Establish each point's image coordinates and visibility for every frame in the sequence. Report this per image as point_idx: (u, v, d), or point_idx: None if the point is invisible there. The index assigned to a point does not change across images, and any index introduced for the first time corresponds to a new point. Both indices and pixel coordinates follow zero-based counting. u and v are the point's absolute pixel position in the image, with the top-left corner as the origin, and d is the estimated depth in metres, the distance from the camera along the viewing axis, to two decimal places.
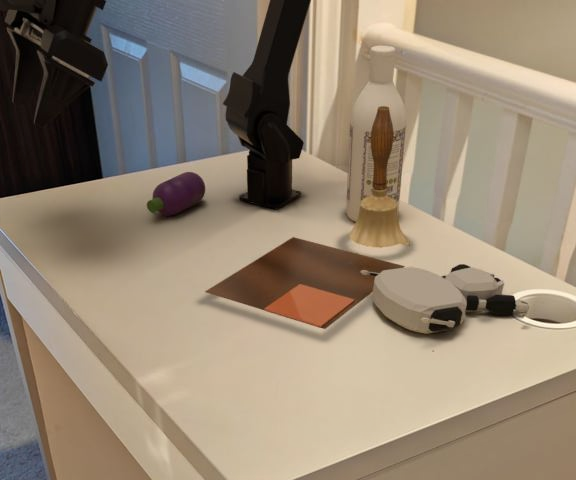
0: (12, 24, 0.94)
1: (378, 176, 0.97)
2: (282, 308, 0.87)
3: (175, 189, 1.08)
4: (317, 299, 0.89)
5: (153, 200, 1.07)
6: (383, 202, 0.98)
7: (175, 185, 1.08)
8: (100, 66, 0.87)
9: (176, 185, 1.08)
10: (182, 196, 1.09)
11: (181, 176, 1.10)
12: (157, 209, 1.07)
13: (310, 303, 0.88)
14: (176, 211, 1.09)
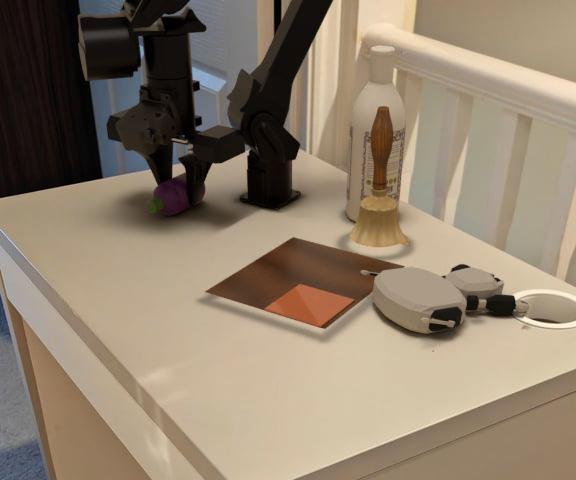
0: None
1: (378, 176, 0.97)
2: (282, 308, 0.87)
3: (176, 189, 1.08)
4: (317, 299, 0.89)
5: (153, 200, 1.07)
6: (383, 202, 0.98)
7: (175, 185, 1.08)
8: (243, 142, 1.04)
9: (176, 185, 1.08)
10: (182, 196, 1.09)
11: (181, 176, 1.10)
12: (157, 209, 1.07)
13: (310, 303, 0.88)
14: (176, 211, 1.09)
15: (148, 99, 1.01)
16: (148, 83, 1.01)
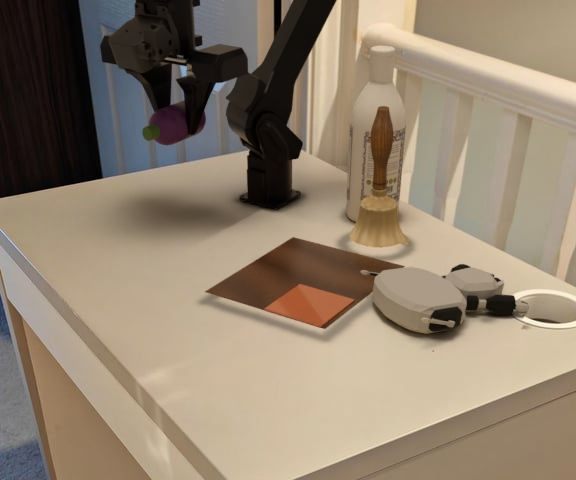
0: None
1: (378, 176, 0.97)
2: (282, 308, 0.87)
3: (173, 115, 1.01)
4: (317, 299, 0.89)
5: (149, 126, 1.00)
6: (383, 202, 0.98)
7: (173, 111, 1.01)
8: (246, 61, 0.96)
9: (174, 111, 1.01)
10: (180, 124, 1.01)
11: (180, 103, 1.03)
12: (153, 136, 1.00)
13: (310, 303, 0.88)
14: (173, 140, 1.02)
15: (144, 13, 0.94)
16: None
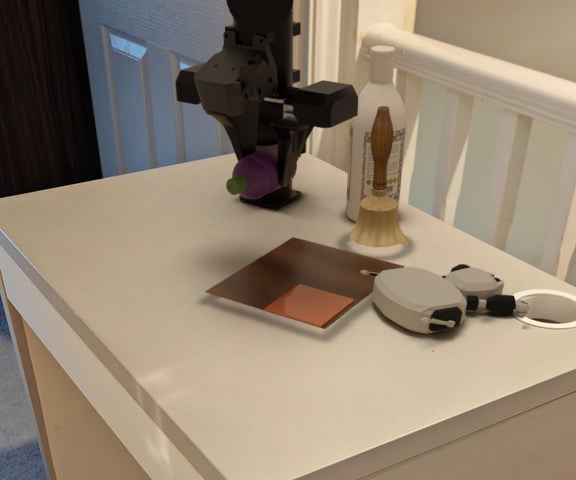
0: (199, 102, 0.84)
1: (378, 176, 0.97)
2: (282, 308, 0.87)
3: (263, 164, 0.84)
4: (317, 299, 0.89)
5: (235, 178, 0.83)
6: (383, 202, 0.98)
7: (262, 159, 0.84)
8: (356, 101, 0.80)
9: (264, 160, 0.84)
10: (271, 174, 0.85)
11: (269, 149, 0.86)
12: (240, 190, 0.83)
13: (310, 303, 0.88)
14: (262, 193, 0.85)
15: (235, 44, 0.78)
16: (236, 23, 0.77)
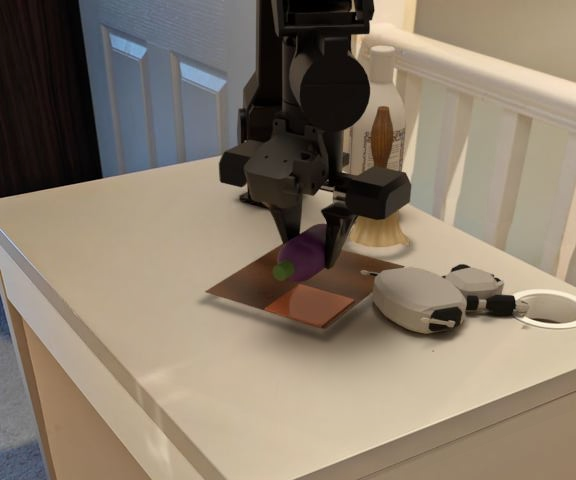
0: (244, 185, 0.81)
1: None
2: (282, 308, 0.87)
3: (310, 248, 0.81)
4: (317, 299, 0.89)
5: (282, 264, 0.80)
6: None
7: (309, 243, 0.82)
8: (409, 189, 0.77)
9: (311, 243, 0.82)
10: (318, 258, 0.82)
11: (314, 230, 0.83)
12: (287, 276, 0.81)
13: (310, 303, 0.88)
14: (309, 277, 0.83)
15: (285, 132, 0.75)
16: (287, 111, 0.74)
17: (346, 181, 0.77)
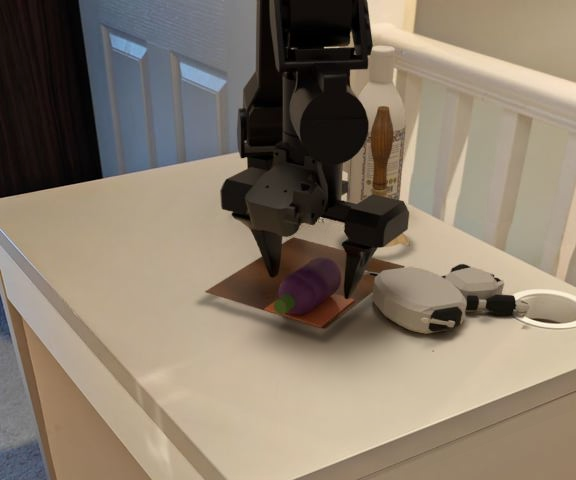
0: (245, 212, 0.83)
1: (378, 176, 0.97)
2: None
3: (311, 284, 0.84)
4: None
5: (283, 299, 0.83)
6: None
7: (309, 278, 0.84)
8: (407, 217, 0.79)
9: (311, 278, 0.84)
10: (318, 292, 0.84)
11: (315, 265, 0.86)
12: (287, 310, 0.83)
13: None
14: (308, 310, 0.85)
15: (286, 162, 0.77)
16: (287, 142, 0.76)
17: (345, 209, 0.79)
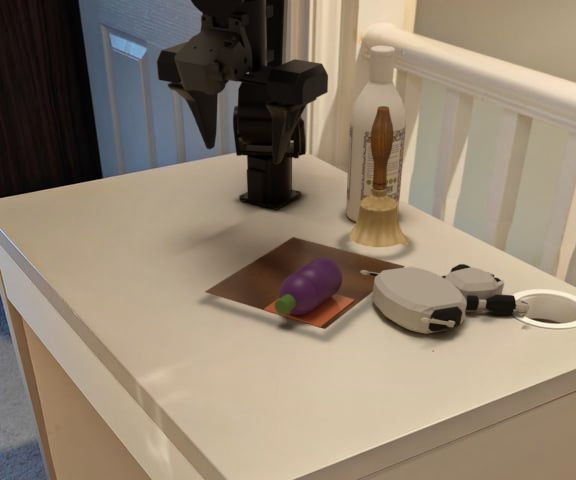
0: (179, 81, 0.89)
1: (378, 176, 0.97)
2: None
3: (312, 285, 0.84)
4: None
5: (285, 299, 0.83)
6: (383, 202, 0.98)
7: (311, 279, 0.84)
8: (326, 79, 0.86)
9: (313, 280, 0.84)
10: (319, 294, 0.84)
11: (317, 265, 0.86)
12: (288, 311, 0.83)
13: None
14: (309, 311, 0.85)
15: (212, 27, 0.83)
16: None
17: (269, 73, 0.86)
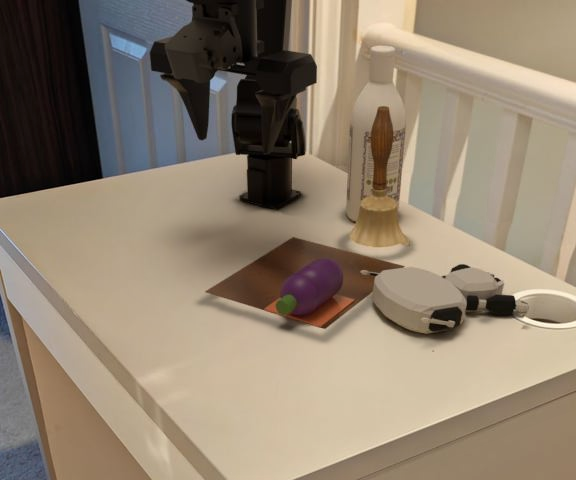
0: (171, 71, 0.91)
1: (378, 176, 0.97)
2: None
3: (314, 286, 0.84)
4: None
5: (286, 300, 0.83)
6: (383, 202, 0.98)
7: (313, 280, 0.84)
8: (315, 69, 0.87)
9: (315, 281, 0.84)
10: (320, 295, 0.84)
11: (319, 266, 0.85)
12: (289, 311, 0.83)
13: None
14: (309, 312, 0.85)
15: (203, 17, 0.85)
16: None
17: (259, 63, 0.87)
